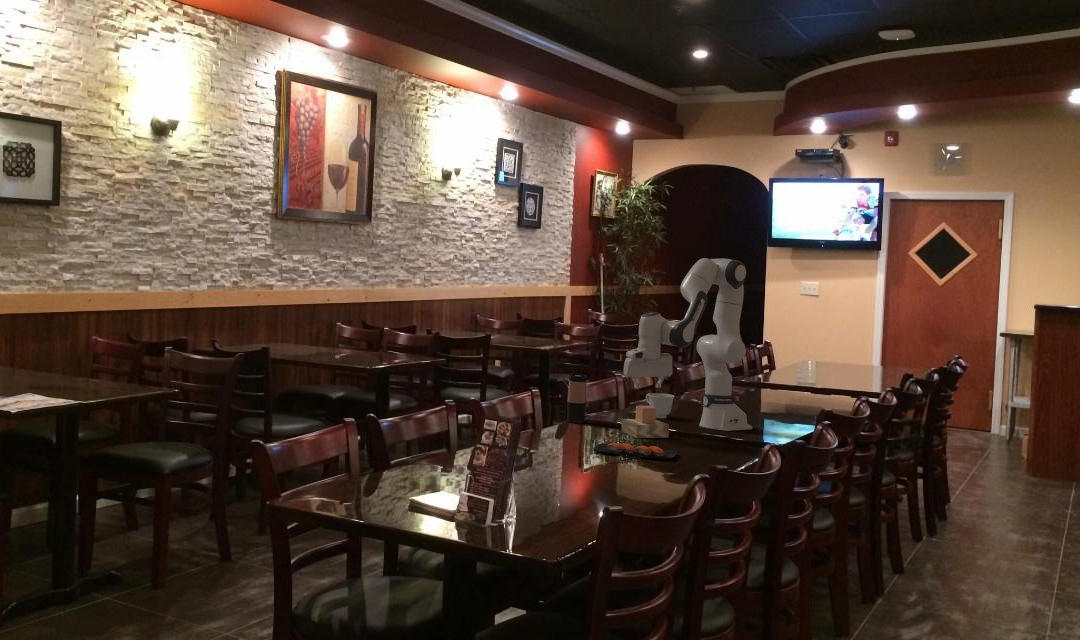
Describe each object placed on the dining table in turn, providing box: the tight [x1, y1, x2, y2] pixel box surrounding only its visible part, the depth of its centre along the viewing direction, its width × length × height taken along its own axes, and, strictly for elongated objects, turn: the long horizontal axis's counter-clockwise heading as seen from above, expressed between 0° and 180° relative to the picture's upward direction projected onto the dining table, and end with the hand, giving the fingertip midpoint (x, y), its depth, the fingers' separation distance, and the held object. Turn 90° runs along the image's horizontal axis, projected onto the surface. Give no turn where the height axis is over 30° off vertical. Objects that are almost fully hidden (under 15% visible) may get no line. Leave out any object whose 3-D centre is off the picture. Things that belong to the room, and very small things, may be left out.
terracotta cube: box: [634, 405, 657, 423], centre depth 377 cm, size 6×6×6 cm
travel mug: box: [566, 373, 588, 425], centre depth 398 cm, size 8×8×20 cm
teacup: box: [645, 392, 675, 419], centre depth 424 cm, size 12×15×10 cm
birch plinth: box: [620, 418, 670, 439], centre depth 378 cm, size 14×14×5 cm
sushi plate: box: [592, 442, 678, 463], centre depth 329 cm, size 29×30×4 cm
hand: (647, 387), depth 377 cm, fingers open, 8 cm apart
